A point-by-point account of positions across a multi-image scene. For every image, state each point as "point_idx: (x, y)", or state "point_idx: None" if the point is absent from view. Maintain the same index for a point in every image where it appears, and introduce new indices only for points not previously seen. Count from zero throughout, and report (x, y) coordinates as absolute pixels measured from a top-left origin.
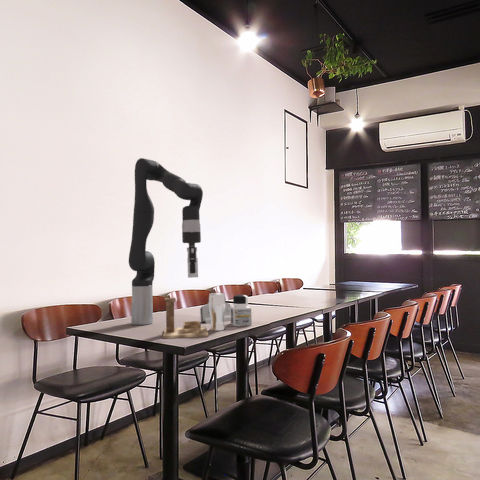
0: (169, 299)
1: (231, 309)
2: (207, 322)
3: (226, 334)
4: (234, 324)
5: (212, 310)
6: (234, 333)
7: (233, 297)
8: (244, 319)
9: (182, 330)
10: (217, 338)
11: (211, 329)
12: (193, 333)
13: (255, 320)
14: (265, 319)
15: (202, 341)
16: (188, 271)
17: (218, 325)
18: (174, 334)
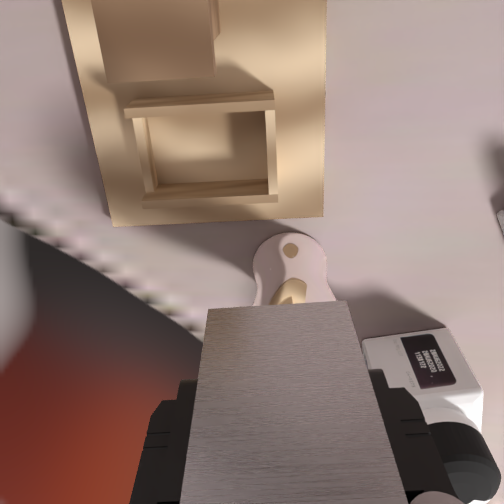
0: (95, 18)
1: (447, 383)
2: (502, 221)
3: (166, 296)
4: (367, 342)
5: (256, 304)
6: (186, 326)
7: (453, 452)
8: None
9: (220, 87)
10: (76, 258)
11: (269, 240)
12: (125, 155)
13: (488, 421)
14: (497, 454)
15: (4, 196)
16: (200, 374)
17: (256, 282)
18: (96, 44)
